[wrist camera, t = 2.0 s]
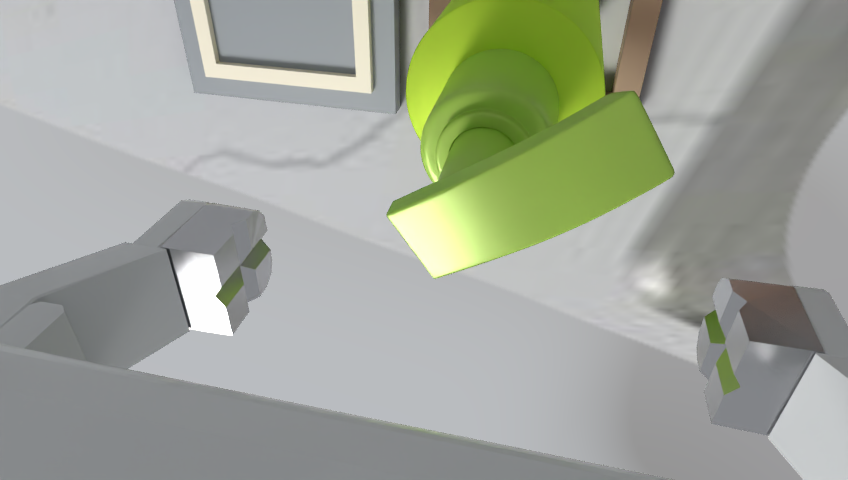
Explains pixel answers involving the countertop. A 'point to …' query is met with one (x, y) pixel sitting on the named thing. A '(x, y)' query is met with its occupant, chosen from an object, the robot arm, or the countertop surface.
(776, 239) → the countertop surface
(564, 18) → the soap dispenser
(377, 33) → the slate board
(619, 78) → the walnut template frame
